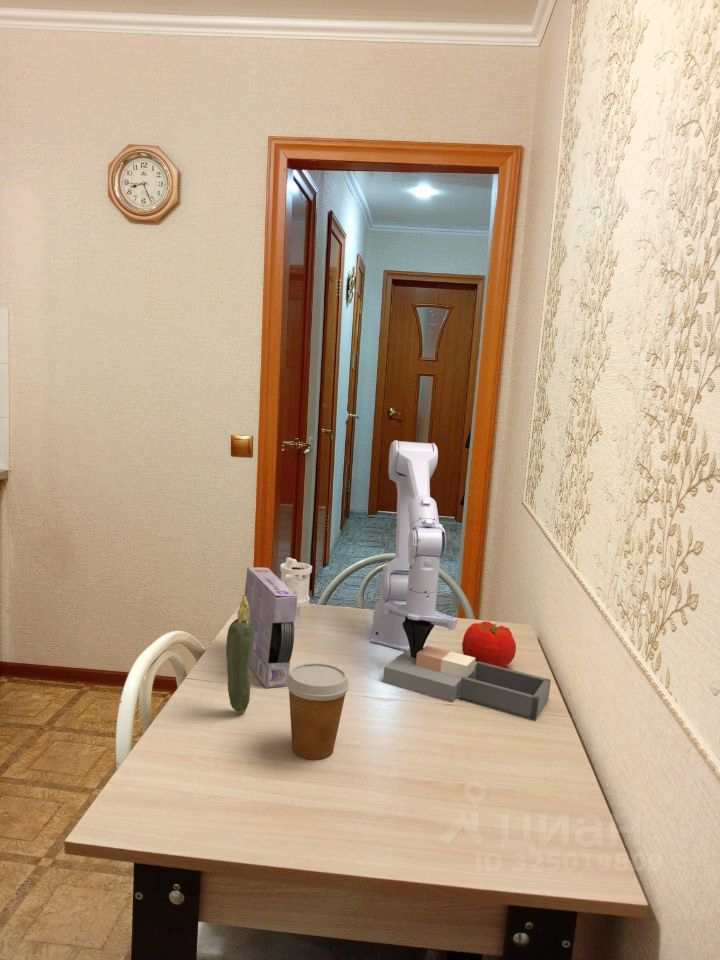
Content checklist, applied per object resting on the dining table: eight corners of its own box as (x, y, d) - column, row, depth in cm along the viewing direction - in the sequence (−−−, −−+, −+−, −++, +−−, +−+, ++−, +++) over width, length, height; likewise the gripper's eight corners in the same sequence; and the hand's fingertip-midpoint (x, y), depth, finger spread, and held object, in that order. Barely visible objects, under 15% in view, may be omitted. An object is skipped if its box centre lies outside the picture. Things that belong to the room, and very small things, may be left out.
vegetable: (243, 722, 114) (250, 602, 112) (217, 718, 115) (224, 599, 113) (252, 711, 119) (260, 595, 116) (228, 706, 120) (235, 591, 117)
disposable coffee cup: (347, 737, 112) (353, 665, 111) (339, 769, 103) (346, 691, 101) (288, 730, 113) (293, 658, 112) (275, 761, 104) (280, 683, 102)
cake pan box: (292, 689, 129) (299, 594, 126) (266, 692, 126) (272, 595, 124) (261, 649, 146) (267, 565, 143) (237, 651, 144) (242, 566, 141)
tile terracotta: (415, 665, 136) (417, 652, 136) (425, 657, 141) (426, 645, 140) (440, 672, 134) (441, 659, 134) (449, 663, 138) (450, 651, 138)
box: (459, 698, 130) (461, 678, 130) (476, 680, 139) (478, 661, 138) (535, 720, 124) (538, 698, 123) (548, 700, 133) (550, 679, 132)
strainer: (296, 618, 166) (301, 555, 164) (313, 628, 161) (318, 563, 159) (270, 622, 162) (274, 558, 160) (287, 632, 156) (292, 566, 154)
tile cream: (440, 672, 134) (441, 659, 134) (449, 663, 138) (450, 651, 138) (465, 678, 132) (466, 665, 131) (474, 670, 136) (475, 657, 136)
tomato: (518, 678, 142) (523, 636, 141) (463, 673, 142) (467, 631, 141) (508, 658, 152) (512, 619, 151) (457, 653, 152) (461, 614, 151)
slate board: (382, 681, 135) (384, 666, 134) (411, 659, 147) (413, 645, 147) (452, 702, 128) (454, 686, 128) (477, 676, 141) (478, 662, 140)
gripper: (379, 585, 137) (373, 653, 139) (450, 601, 130) (443, 672, 132) (394, 578, 143) (388, 643, 145) (463, 593, 136) (456, 660, 138)
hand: (415, 656), depth 139 cm, fingers closed
